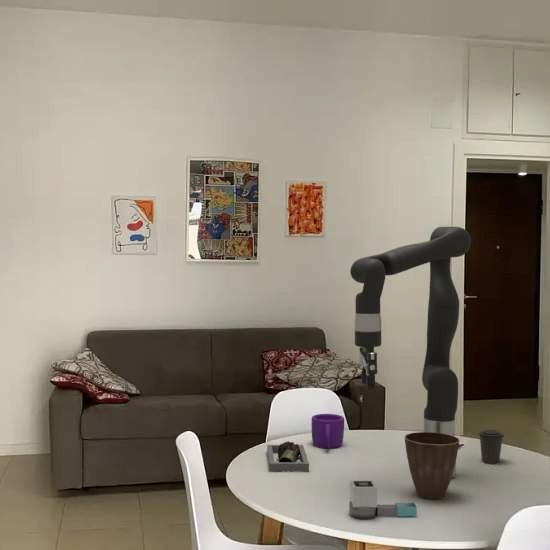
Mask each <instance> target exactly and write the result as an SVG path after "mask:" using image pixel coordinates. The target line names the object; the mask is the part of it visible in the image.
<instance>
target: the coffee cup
mask: <svg viewBox="0 0 550 550" xmlns="http://www.w3.org/2000/svg"><path fill="white" fill-rule="evenodd" d="M478 436H479V442H480V452H481V453H480V454H481V462H482V463H483V462H484V464H487V465H498V464H499V463H500V458H501V452H502V445H503V438H504V437H505V434H504V433H503V432H501V431H497V430H495V429H486V430H485V429H484V430H480V431H479V432H478ZM497 463H498V464H497Z"/></svg>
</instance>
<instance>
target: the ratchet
mask: <svg viewBox="0 0 550 550" xmlns="http://www.w3.org/2000/svg"><path fill="white" fill-rule="evenodd" d="M356 487H369V485H368V483H358V486H356ZM348 508H349V509H348V511H349V512H348V515H349V517H350V518H353V519H357V520H363V521H367V520H373V518H374V519H375V517H376V518H377V516H418V515H417V514H418V507H417V505H416V503H415V502H394V504H377V507H353V506H352V504H351V501H350V500H349V503H348Z"/></svg>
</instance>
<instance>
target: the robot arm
mask: <svg viewBox="0 0 550 550" xmlns="http://www.w3.org/2000/svg"><path fill="white" fill-rule="evenodd" d="M471 244H472V239H471V235H470V233H469V232H468V230H466V229H465V228H463V227H459V226H438V227H437V228H435V229H433V231H432V232H431V235H430V237H429V240H427V241H424V242H423V241H422V242H418V243H412V244H407V245H403V246H400V247H396V248H392V249H391V250H388V251H386V252H382V253H379V254H373V255H369V256H364V257H361V258H359V259H356V260H355V261H354V262H353V263H352V265H351V267H350V276H351V278H352V280H354V281H355V282H357V283H360V284H363V286H362V287H363V288H362V291H361V292H358V293H356V296H355V300H354V301H355V303H354V304H355V315H354V346H356V347H359V369H360V372H361V375H360V377H361V378H360V379H361V384H362V385H366V388H367V390H375V388H376V376H377V374H378V353H377V351H376V352H375V348H378V347H380V346H382V317H381V298H382V294H383V291H384V285H385V280H386V276H393V275H398V274H400V273H404V272H405V271H408V270H411V269H414V268H416V267H419V266H422V265H425V264H429V292H428V293H429V295H428V296H429V297H428V303H427V305H428V306H427V322H426V323H427V327H426V352H425V356H424V357H425V358H424V363H423V369H422V375H421V382H422V385H423V387H424V389H425V390H426V391H427V392H426V393H427V395H426V396H427V398H426V399H427V400H426V406H425V407H424V410H423V432H433V433H442V434H448V435H452V436H455V437H456V435H455V431H456V429H455V428H456V413H457V410H458V403H459V402H458V401H459V399H458V398H459V380H458V376H457V374H456V373H455V372H454V371H453V369H451V367H450V360H451V359H450V358H451V357H450V355H451V347H452V343H453V341H454V337H455V335H456V333H457V328H458V325H459V319H460V318H459V316H460V298H459V295H458V291H457V289H456V287H455V284H454V282H453V278H452V274H451V260H452V258H458V257H462V256H464V255H465V254H466V253H467V252H468V251H469V250H470V247H471ZM452 478H453V479H454V478H457V461H456V462H455V467H454V470H453V474H452V477H451V479H452Z"/></svg>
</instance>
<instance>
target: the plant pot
mask: <svg viewBox="0 0 550 550" xmlns="http://www.w3.org/2000/svg"><path fill="white" fill-rule="evenodd" d="M404 443H405V444H404V445H405V453H406V459H407V463H408V467H409V472H410V475H411V480H412V483H413V486H414V490H415V491H416V494H417V496H418V497H420V498H423V499H427V500H440V499H443V498H444V497H445V496H446V494H447V490H448V488H449V485H450V483H451V480H452V478H451V477H452V474H453V470H454V467H455V462H456V463H457V457H458V452H459V447H460V439H459V437H456V435H455V436H452V435H448V434H442V433H433V432H424V431H422V432H421V431H418V432H417V431H416V432H410V433H407V434H405V435H404Z"/></svg>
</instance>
